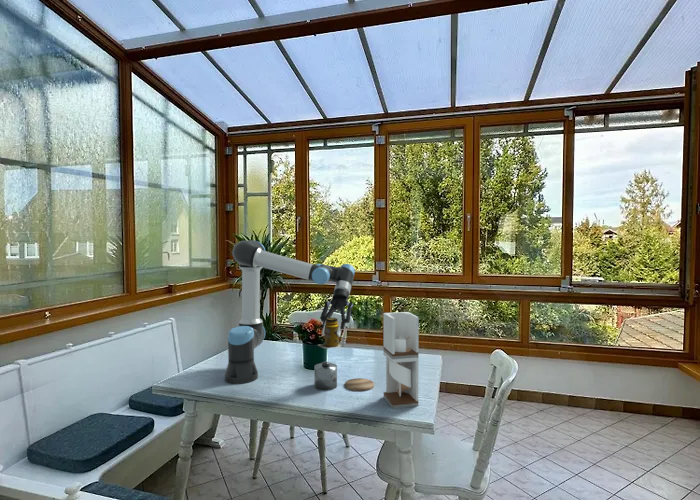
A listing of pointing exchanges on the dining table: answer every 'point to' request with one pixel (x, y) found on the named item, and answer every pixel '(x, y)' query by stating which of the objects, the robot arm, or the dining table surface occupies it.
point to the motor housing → (325, 376)
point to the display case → (401, 359)
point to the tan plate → (359, 384)
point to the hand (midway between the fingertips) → (330, 334)
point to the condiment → (331, 334)
